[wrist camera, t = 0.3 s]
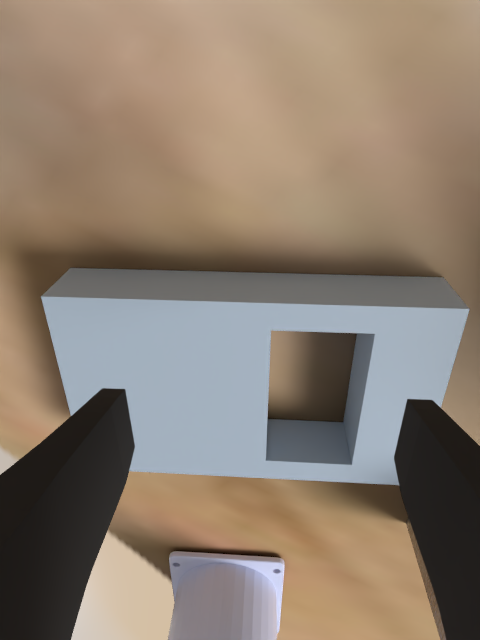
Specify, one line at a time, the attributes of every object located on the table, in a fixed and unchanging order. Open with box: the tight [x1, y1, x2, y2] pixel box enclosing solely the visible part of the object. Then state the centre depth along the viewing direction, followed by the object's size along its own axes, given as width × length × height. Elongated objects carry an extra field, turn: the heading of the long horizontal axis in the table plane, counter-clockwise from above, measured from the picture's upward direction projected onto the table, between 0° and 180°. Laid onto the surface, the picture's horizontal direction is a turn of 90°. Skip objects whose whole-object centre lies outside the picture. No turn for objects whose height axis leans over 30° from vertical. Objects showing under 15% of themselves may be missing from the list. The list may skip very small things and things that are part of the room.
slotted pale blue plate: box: [41, 268, 469, 485], centre depth 21 cm, size 10×17×3 cm, turn 90°
